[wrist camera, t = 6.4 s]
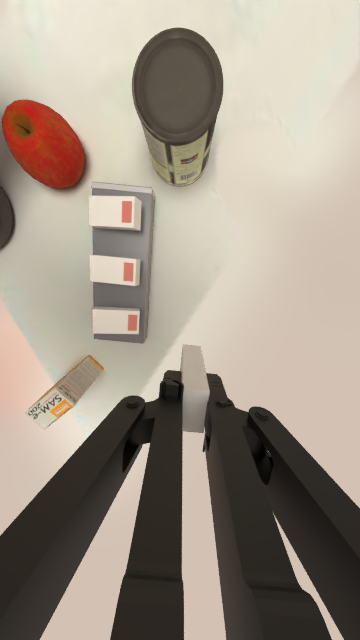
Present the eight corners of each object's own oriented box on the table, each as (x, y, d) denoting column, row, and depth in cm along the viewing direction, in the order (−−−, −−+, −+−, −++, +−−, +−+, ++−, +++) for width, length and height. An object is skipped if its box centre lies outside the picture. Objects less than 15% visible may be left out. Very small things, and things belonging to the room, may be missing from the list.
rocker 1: (98, 228, 36) (88, 225, 33) (98, 200, 35) (88, 195, 32) (140, 230, 34) (133, 227, 32) (141, 201, 33) (134, 195, 31)
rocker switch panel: (101, 332, 45) (91, 340, 40) (100, 190, 38) (89, 179, 33) (147, 336, 45) (143, 345, 41) (155, 195, 38) (151, 185, 34)
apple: (30, 126, 36) (-30, 71, 26) (89, 128, 36) (52, 73, 26) (38, 192, 38) (-13, 165, 28) (93, 194, 38) (61, 168, 28)
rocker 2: (96, 280, 38) (89, 281, 35) (96, 255, 36) (89, 254, 34) (139, 284, 37) (134, 286, 34) (140, 259, 36) (135, 258, 33)
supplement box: (89, 353, 47) (54, 386, 34) (104, 368, 47) (75, 405, 35) (65, 374, 48) (22, 413, 35) (80, 388, 49) (44, 431, 36)
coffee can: (180, 103, 35) (178, -2, 21) (220, 154, 36) (242, 87, 23) (138, 153, 37) (112, 86, 23) (178, 199, 38) (176, 162, 25)
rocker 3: (94, 329, 39) (92, 333, 36) (94, 306, 37) (92, 309, 35) (138, 330, 40) (138, 334, 38) (139, 308, 39) (139, 311, 37)
